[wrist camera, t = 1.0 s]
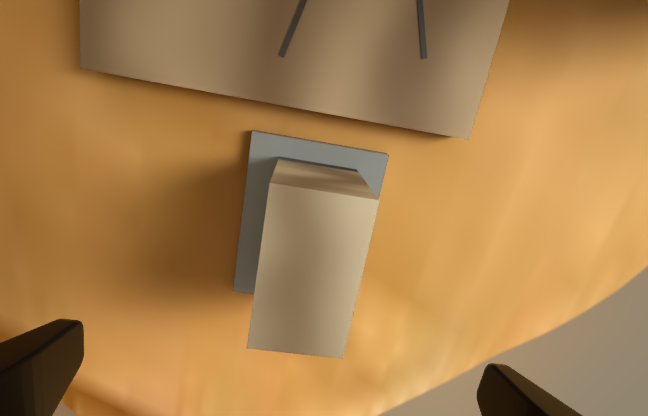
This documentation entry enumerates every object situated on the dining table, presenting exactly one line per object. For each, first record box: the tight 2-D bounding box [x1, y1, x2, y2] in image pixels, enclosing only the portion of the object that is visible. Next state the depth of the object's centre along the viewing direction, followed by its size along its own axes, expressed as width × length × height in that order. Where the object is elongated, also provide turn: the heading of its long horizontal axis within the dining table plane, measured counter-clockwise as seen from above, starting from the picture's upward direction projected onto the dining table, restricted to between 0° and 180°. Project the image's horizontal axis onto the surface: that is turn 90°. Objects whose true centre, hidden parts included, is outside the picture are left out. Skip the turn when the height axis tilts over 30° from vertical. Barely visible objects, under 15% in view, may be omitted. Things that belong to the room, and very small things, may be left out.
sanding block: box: [247, 156, 379, 359], centre depth 17 cm, size 4×7×6 cm, turn 170°
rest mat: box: [233, 130, 389, 294], centre depth 20 cm, size 7×9×1 cm
